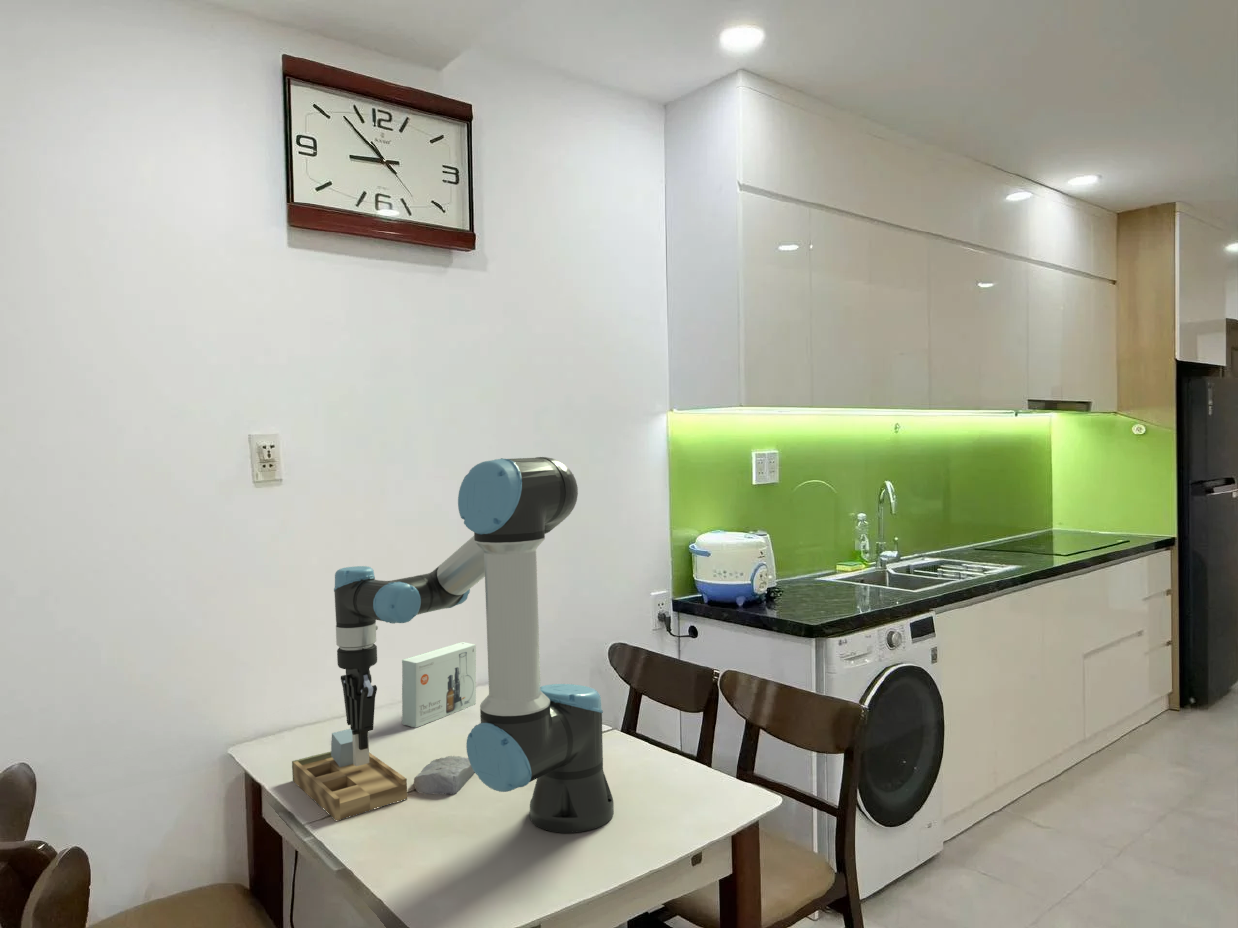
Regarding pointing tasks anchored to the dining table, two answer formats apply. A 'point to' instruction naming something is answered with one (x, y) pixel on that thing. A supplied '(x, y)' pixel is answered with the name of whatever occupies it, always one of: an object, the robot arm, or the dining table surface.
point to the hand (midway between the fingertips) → (361, 763)
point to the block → (342, 747)
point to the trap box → (348, 784)
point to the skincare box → (438, 683)
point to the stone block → (444, 775)
